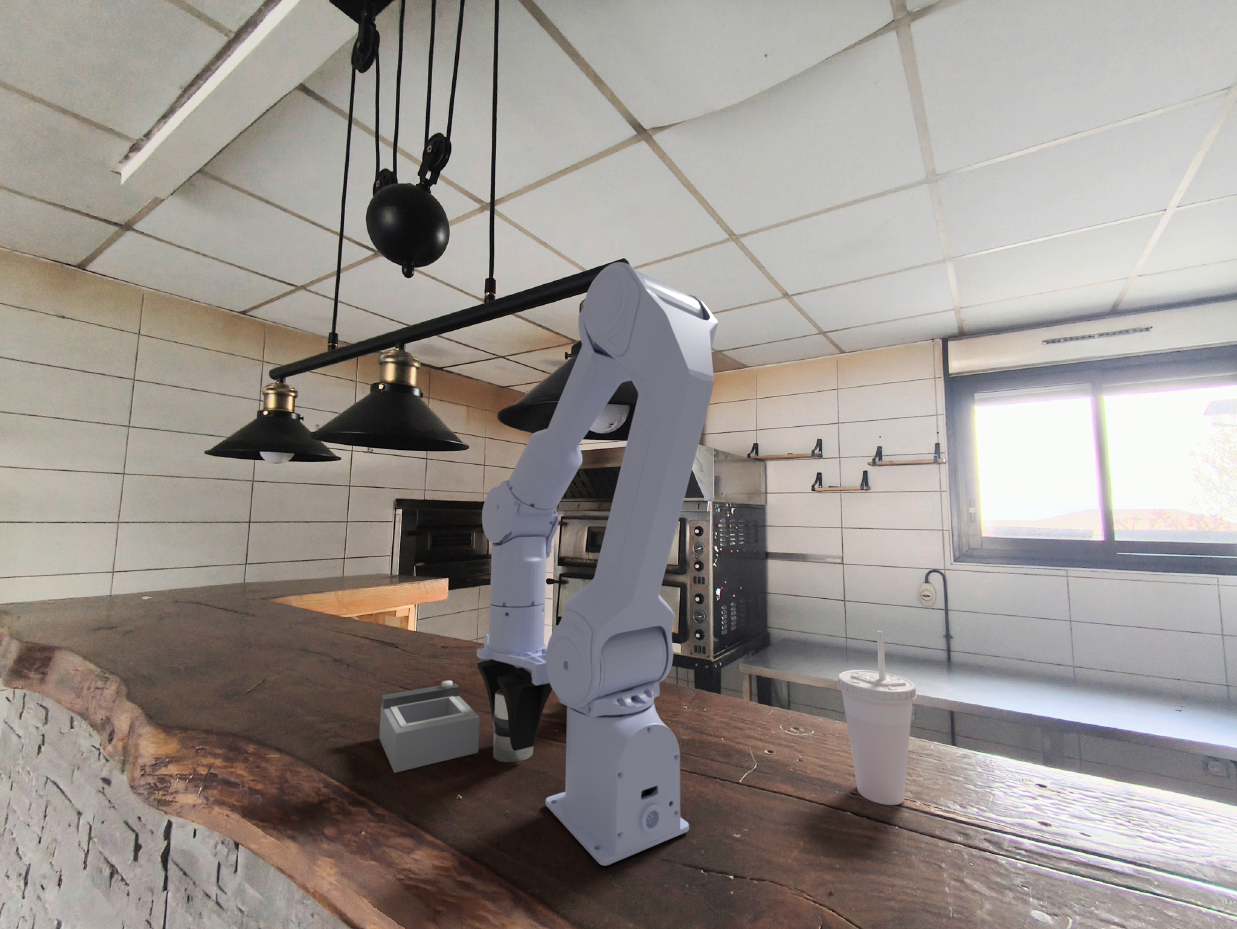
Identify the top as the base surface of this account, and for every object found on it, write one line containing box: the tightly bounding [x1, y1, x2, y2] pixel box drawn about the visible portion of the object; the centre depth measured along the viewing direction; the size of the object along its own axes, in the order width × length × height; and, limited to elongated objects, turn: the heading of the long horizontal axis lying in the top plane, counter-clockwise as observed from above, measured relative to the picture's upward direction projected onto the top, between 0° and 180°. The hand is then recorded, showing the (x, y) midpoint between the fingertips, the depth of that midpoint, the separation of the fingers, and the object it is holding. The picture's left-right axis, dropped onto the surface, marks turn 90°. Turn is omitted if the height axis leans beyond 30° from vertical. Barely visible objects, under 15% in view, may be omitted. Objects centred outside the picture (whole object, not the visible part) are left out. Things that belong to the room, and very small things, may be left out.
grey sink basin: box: [378, 680, 480, 774], centre depth 54 cm, size 9×8×5 cm
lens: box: [492, 689, 534, 763], centre depth 53 cm, size 4×4×6 cm
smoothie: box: [837, 630, 918, 806], centre depth 46 cm, size 6×6×14 cm
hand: (513, 738), depth 53 cm, fingers closed on lens, 4 cm apart
